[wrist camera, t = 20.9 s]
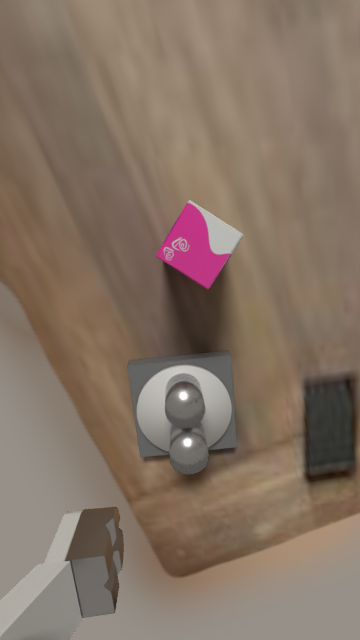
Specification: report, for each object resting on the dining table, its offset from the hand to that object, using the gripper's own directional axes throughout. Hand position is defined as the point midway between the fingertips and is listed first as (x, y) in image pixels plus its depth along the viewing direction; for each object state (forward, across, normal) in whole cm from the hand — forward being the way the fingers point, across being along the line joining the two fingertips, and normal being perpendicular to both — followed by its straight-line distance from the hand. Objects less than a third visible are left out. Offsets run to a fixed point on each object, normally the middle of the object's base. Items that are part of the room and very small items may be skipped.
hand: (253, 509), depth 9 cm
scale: (+32, +2, +12) cm, 34 cm away
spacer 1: (+28, +2, +9) cm, 30 cm away
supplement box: (+31, -1, -8) cm, 32 cm away
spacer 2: (+28, +2, +15) cm, 32 cm away
